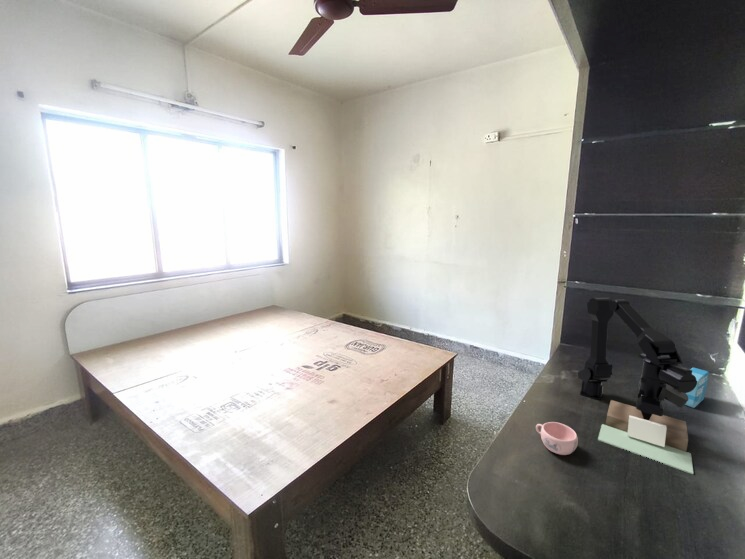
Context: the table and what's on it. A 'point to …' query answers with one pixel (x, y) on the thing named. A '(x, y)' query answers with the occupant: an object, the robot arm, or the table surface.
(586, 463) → the table surface
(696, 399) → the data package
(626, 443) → the mat
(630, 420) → the tile
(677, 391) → the robot arm
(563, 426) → the mug
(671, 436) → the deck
